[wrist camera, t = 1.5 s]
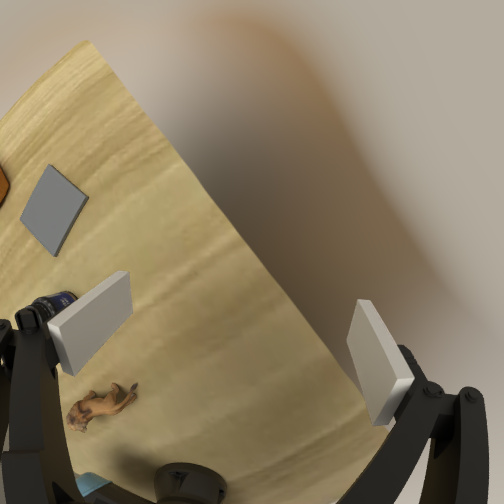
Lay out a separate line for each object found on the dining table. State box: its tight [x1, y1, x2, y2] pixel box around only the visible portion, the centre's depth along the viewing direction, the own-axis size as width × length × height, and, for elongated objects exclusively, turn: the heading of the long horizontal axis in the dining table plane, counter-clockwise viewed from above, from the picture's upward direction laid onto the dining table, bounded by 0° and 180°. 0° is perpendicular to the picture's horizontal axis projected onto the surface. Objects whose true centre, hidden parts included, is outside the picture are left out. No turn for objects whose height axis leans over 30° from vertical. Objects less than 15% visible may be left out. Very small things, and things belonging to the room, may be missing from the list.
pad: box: [20, 164, 89, 257], centre depth 39 cm, size 12×12×1 cm
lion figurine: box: [66, 383, 137, 433], centre depth 36 cm, size 15×5×9 cm, turn 122°
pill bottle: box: [25, 291, 78, 324], centre depth 34 cm, size 6×6×11 cm
